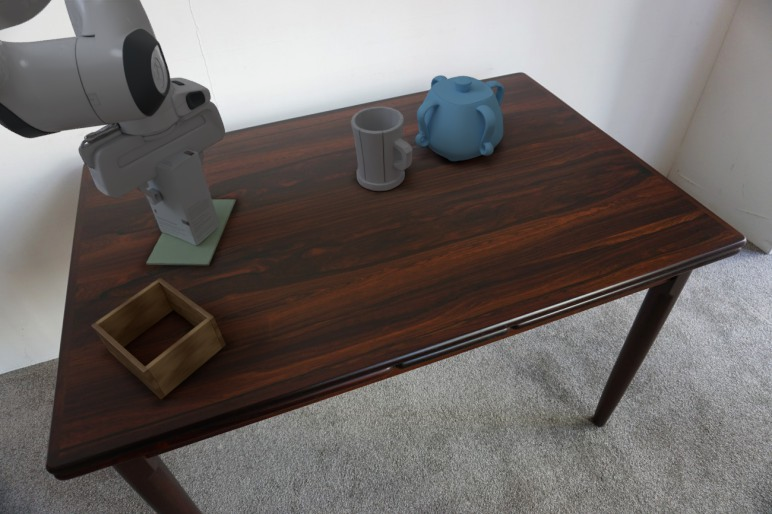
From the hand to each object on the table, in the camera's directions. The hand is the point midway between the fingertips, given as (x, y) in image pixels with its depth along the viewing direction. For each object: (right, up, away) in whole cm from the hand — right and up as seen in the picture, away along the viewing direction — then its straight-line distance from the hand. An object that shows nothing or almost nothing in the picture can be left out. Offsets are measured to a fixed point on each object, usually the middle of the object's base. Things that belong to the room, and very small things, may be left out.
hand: (177, 189), depth 81 cm
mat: (0, -6, +6) cm, 9 cm away
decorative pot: (+47, +11, +22) cm, 53 cm away
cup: (+32, +4, +15) cm, 36 cm away
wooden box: (+3, -23, -11) cm, 25 cm away
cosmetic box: (0, -6, +6) cm, 8 cm away
